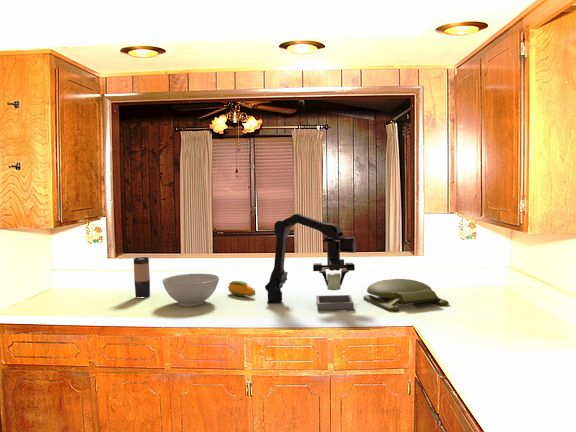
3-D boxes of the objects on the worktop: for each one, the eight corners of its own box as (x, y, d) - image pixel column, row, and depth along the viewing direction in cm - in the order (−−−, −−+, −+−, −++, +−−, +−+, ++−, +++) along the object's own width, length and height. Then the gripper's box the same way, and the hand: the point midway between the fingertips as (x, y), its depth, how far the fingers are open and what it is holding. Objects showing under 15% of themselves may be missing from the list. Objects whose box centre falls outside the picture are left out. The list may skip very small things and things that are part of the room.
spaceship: (451, 306, 262) (451, 285, 262) (391, 313, 252) (390, 291, 252) (410, 291, 295) (410, 272, 295) (356, 297, 285) (355, 277, 285)
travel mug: (153, 296, 297) (152, 257, 295) (142, 299, 290) (141, 259, 289) (142, 294, 301) (141, 256, 299) (131, 297, 294) (130, 258, 292)
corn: (235, 277, 302) (260, 282, 287) (236, 291, 303) (261, 297, 288) (224, 280, 297) (249, 285, 282) (225, 295, 298) (250, 300, 283)
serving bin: (317, 311, 257) (317, 303, 257) (316, 303, 273) (316, 295, 273) (353, 310, 257) (353, 302, 257) (350, 302, 273) (350, 295, 273)
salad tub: (327, 290, 262) (327, 275, 261) (327, 287, 268) (326, 272, 267) (341, 290, 261) (340, 274, 261) (340, 287, 267) (339, 272, 267)
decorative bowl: (209, 294, 297) (208, 271, 296) (227, 305, 273) (226, 280, 272) (157, 301, 285) (156, 277, 284) (172, 312, 261) (170, 286, 260)
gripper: (313, 254, 255) (314, 289, 256) (355, 254, 255) (356, 289, 256) (312, 251, 266) (313, 284, 268) (353, 250, 266) (353, 283, 267)
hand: (333, 285), depth 264 cm, fingers closed on salad tub, 6 cm apart
